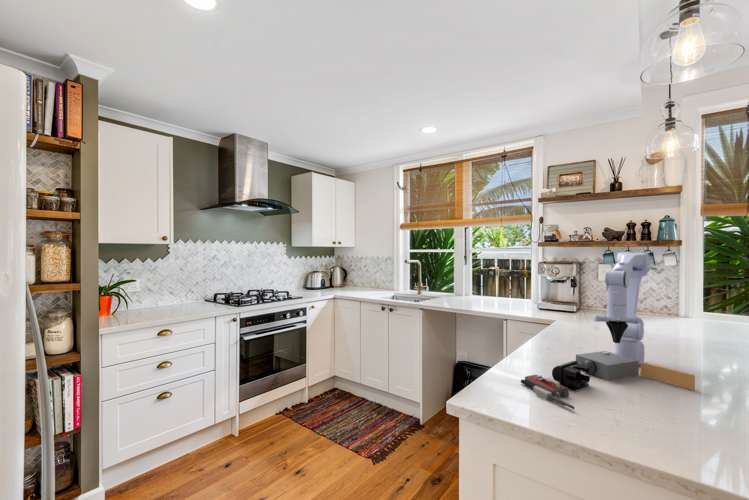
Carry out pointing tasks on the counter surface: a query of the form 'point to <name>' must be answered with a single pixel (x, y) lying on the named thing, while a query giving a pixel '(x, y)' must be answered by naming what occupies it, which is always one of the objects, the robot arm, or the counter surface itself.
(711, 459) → the counter surface
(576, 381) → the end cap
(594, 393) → the counter surface
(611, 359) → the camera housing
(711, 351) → the counter surface
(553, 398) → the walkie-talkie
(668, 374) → the long wooden stick
